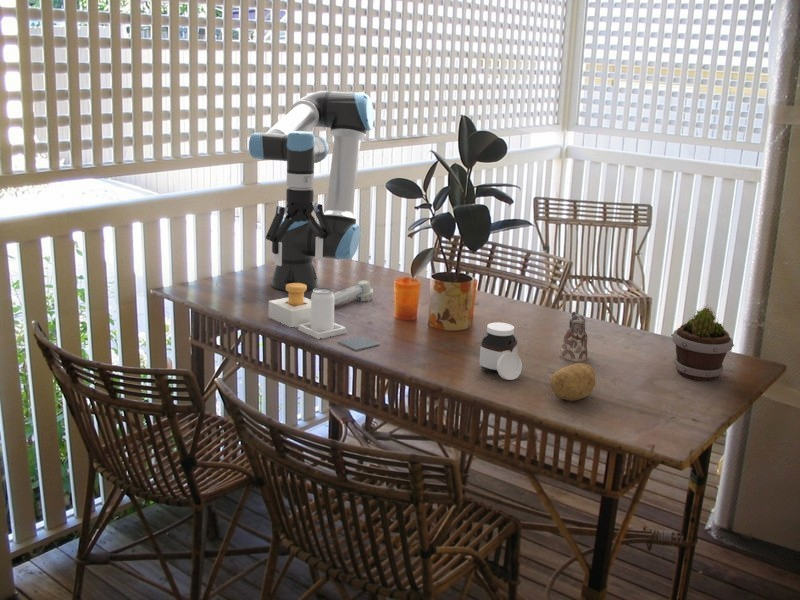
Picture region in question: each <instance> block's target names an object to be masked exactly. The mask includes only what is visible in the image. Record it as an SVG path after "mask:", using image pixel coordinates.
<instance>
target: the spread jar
mask: <svg viewBox="0 0 800 600" xmlns="http://www.w3.org/2000/svg"><path fill="white" fill-rule="evenodd" d="M514 332H515V326H514V325H512V324H510V323H506V322H499V321H498V322H491V323H488V324H487V326H486V333H485V334H484V336H483V338H482V340H481V343H480V349H479V366H480V368H481V369H482V370H483V371H485V372H486V373H489V374H492V375H496V374H497V376H500V377H501V378H502V379H504V380H506V381H507V380H508V381H513V380H515V379H518V377H519V376H520V375H521V373H522V370H523V363H522V360H521V358H520V356H519V355H518V347H519V346H518V344H519V343H518V338H517V336H516V335H515V333H514Z"/></svg>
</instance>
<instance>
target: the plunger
mask: <svg viewBox="0 0 800 600" xmlns="http://www.w3.org/2000/svg"><path fill="white" fill-rule="evenodd" d="M306 291H308V290H307V285H305V284H302V283H290V284H287V285H286V292H288V297H289V298H288V304H289V305H291V306H299V305H304V297H305V292H306Z"/></svg>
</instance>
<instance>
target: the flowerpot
mask: <svg viewBox="0 0 800 600" xmlns="http://www.w3.org/2000/svg"><path fill="white" fill-rule="evenodd" d="M695 311H696V312H695V313H696V314H695V315H693V316H692V317H690V316H689V317H690V318H689V319H688V321H687V322H686V323H683V324H681V325H680V327H678V328H677V329H675V330H674V331H673V333H672V334H670V335H671V337H672V342H673V343H674V344H675V355H676V357H675V358H674V361H673V363H674V366H675V368H676V371H677V372H678V373H679V374H680V375H681V376H683V377H686V378H689V379H695V380H696V381H712V380H716V379H717V378H718V376H720V375H721V373H722V372H724V364H723V362H724V360H725V359H726V355H727V353H728V352H730V351H731V350H732V349H733V347H735V344H734V341H733V340H734V339H733V338H732V337H730V333H729V332H727V330H725V328H724V326H725V325H724V323H723V322H721V323H719V319H718V318H719V317H718V318H717V316H716V315H714V314H716V313H715V311H714V310H713V307H711V306H709V305H708V304H706V306H705V305H703V308H702V309H695Z"/></svg>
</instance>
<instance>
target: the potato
mask: <svg viewBox="0 0 800 600" xmlns="http://www.w3.org/2000/svg"><path fill="white" fill-rule="evenodd" d="M595 386H596V372H595V370H594V368H593V367H592V366H591V365H589V364H588V363H587V364H586V363H582V362H578V363H574V364H570V365H567V366H565V367H561V368H560V369H559V370H557V371H555V372H554V373H553V375H552V377H551V379H550V387H551V390H552V392H553V393H554V395H556V397H558V398H561V399H562V400H566V401H570V402H572V401H573V402H575V401H579V400H581V399H583V398H586V397H587V396H590V395H591V393H592V391H593V390H594V388H595Z"/></svg>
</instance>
